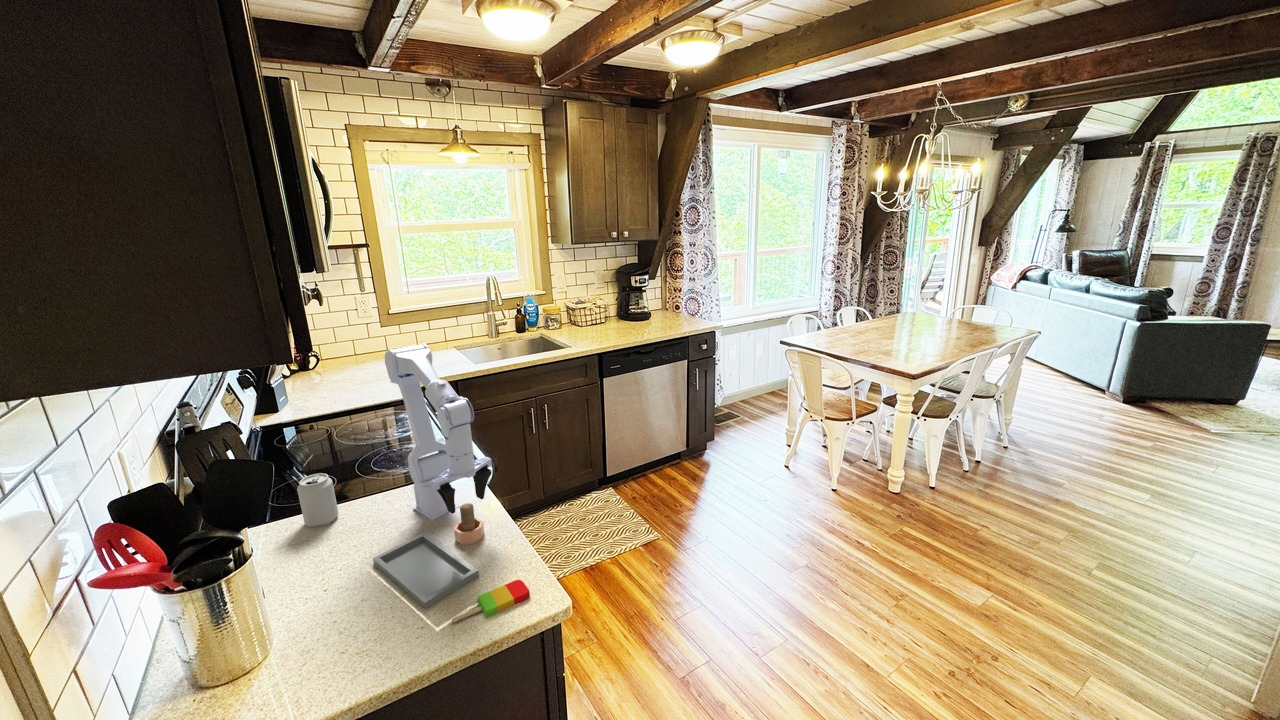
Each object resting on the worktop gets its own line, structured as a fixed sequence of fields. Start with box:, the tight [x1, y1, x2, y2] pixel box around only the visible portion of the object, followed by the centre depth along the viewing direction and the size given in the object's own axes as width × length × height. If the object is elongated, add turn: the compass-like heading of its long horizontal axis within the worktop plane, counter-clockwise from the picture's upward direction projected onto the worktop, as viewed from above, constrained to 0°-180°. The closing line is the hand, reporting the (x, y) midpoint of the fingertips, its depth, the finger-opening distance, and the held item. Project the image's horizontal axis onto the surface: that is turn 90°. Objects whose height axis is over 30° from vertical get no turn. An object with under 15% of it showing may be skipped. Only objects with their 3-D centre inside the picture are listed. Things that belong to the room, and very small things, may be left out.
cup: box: [453, 517, 485, 546], centre depth 120 cm, size 6×6×4 cm
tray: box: [372, 532, 480, 610], centre depth 109 cm, size 22×12×2 cm, turn 51°
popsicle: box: [451, 579, 531, 624], centre depth 99 cm, size 6×15×2 cm, turn 125°
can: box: [296, 472, 339, 528], centre depth 128 cm, size 8×8×12 cm
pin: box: [459, 503, 476, 532], centre depth 120 cm, size 3×3×8 cm
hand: (466, 504), depth 118 cm, fingers open, 7 cm apart
